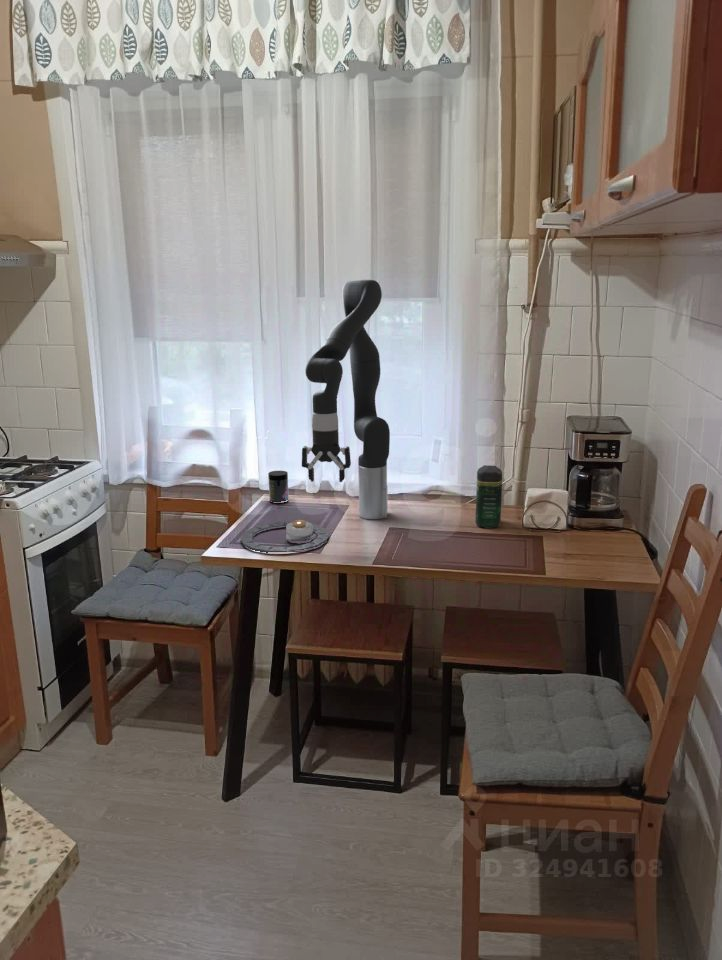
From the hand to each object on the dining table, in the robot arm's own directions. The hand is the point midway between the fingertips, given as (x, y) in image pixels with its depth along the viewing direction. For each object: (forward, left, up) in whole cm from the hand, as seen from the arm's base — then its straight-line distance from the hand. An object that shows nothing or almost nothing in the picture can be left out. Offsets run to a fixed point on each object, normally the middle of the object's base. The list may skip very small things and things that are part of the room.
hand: (326, 481), depth 233 cm
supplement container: (+22, -38, -19) cm, 47 cm away
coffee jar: (-49, -17, -19) cm, 55 cm away
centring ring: (+13, 0, -18) cm, 23 cm away
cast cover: (+9, 0, -18) cm, 20 cm away
